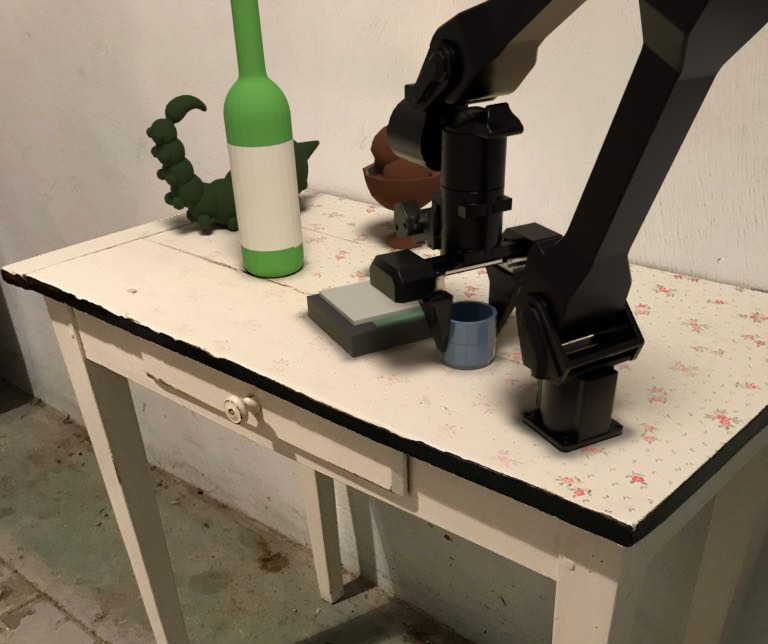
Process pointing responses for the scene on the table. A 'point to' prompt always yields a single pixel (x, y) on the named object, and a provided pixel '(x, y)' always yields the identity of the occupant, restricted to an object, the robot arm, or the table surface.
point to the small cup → (471, 335)
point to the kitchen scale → (366, 318)
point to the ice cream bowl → (398, 183)
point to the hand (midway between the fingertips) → (467, 344)
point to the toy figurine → (187, 186)
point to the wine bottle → (261, 156)
